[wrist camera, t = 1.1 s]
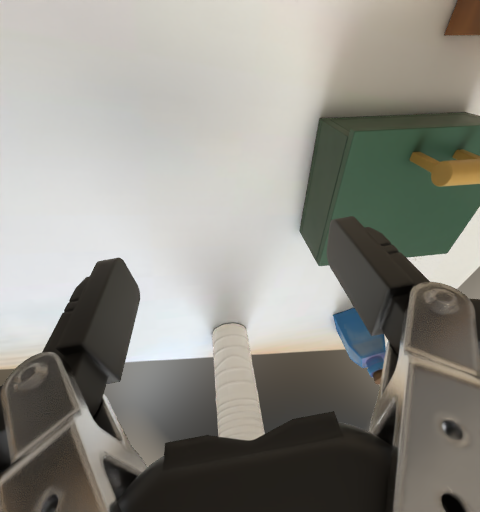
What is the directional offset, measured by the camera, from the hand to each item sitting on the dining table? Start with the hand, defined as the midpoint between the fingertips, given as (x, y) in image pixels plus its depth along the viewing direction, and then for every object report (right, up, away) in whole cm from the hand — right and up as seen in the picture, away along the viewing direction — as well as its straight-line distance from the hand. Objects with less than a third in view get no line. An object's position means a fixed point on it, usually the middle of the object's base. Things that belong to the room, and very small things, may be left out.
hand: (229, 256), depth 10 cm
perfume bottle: (+22, -12, +40) cm, 47 cm away
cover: (+17, +5, +15) cm, 24 cm away
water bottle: (0, -14, +38) cm, 40 cm away
